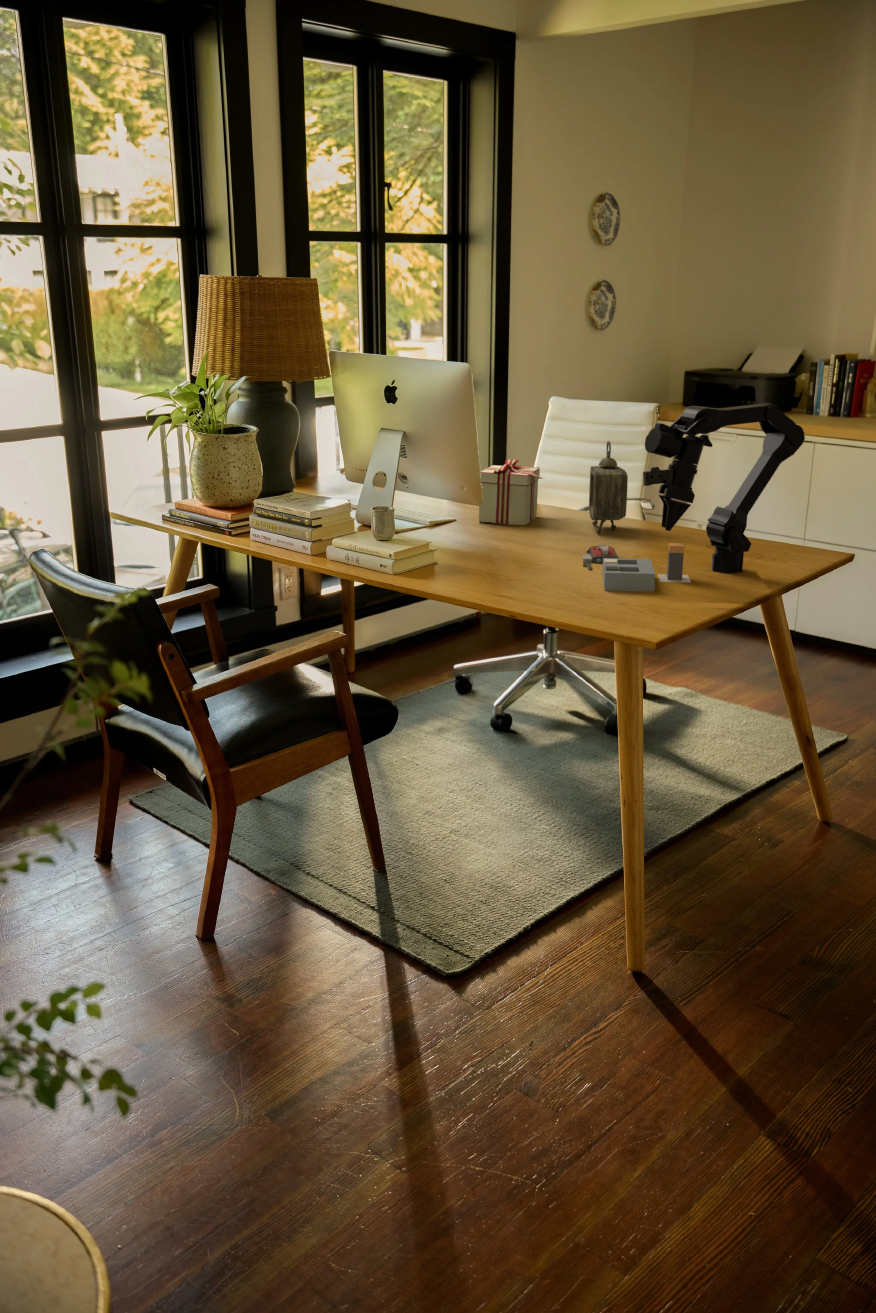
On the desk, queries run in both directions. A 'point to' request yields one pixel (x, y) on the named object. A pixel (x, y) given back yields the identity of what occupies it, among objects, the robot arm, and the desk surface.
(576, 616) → the desk surface
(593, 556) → the red grey elongated piece
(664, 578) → the plate
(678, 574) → the plug
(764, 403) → the robot arm
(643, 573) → the port block
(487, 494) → the gift box
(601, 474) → the tabletop clock
